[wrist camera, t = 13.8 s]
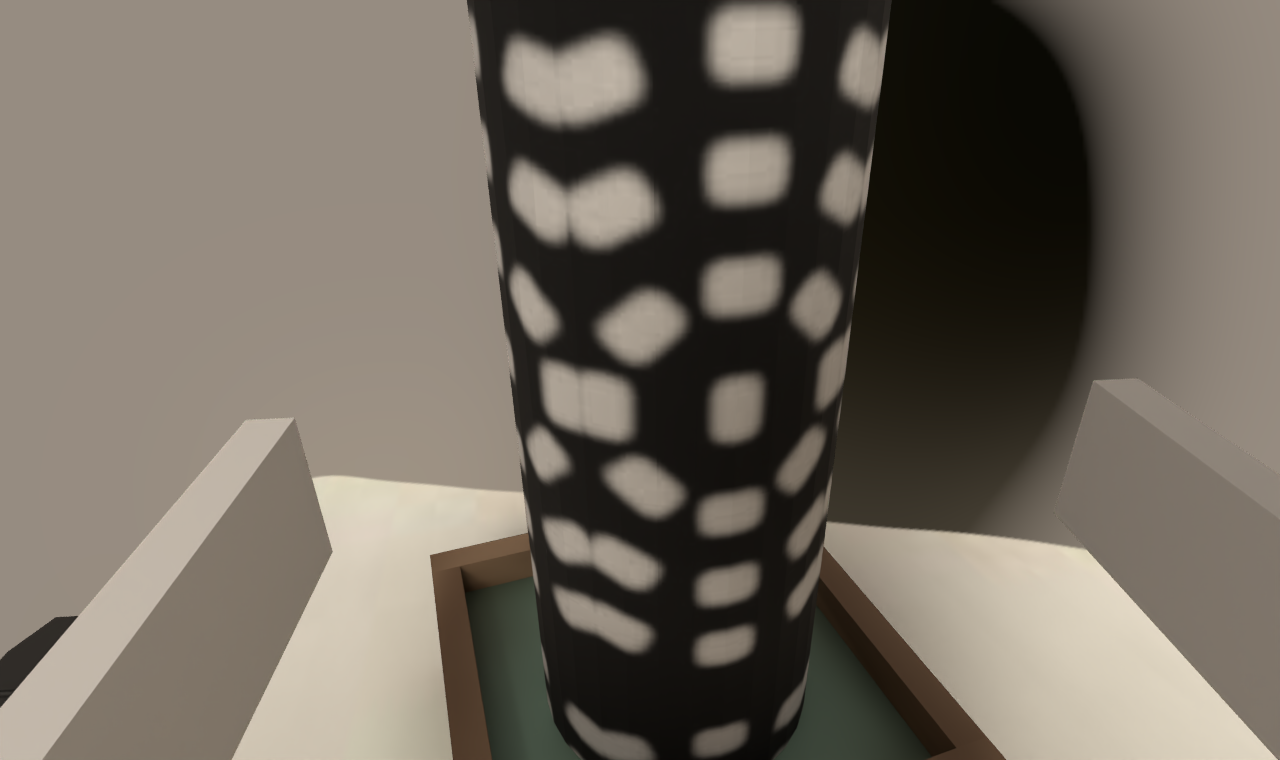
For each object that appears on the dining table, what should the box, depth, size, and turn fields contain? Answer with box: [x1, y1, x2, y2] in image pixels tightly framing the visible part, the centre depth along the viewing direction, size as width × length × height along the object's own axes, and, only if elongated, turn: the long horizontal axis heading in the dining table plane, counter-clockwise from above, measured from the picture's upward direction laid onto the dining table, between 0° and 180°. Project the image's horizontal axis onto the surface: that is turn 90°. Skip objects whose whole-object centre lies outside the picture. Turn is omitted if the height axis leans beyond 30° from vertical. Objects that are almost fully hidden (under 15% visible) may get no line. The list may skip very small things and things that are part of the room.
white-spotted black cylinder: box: [467, 0, 891, 760], centre depth 19 cm, size 8×8×20 cm
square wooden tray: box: [430, 533, 1006, 760], centre depth 24 cm, size 14×14×6 cm
